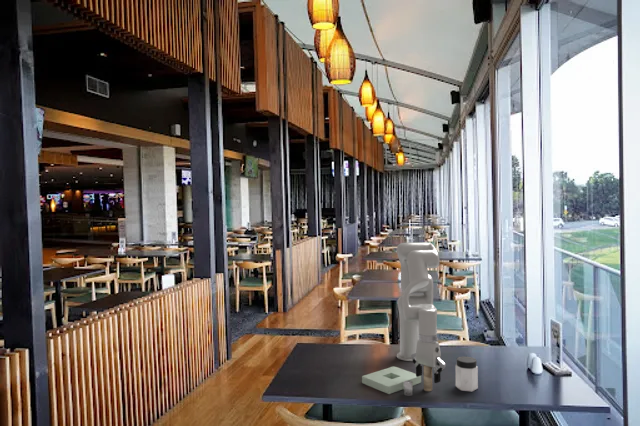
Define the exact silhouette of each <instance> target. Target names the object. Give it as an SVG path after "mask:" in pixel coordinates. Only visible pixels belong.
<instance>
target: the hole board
mask: <svg viewBox="0 0 640 426" xmlns="http://www.w3.org/2000/svg"><path fill="white" fill-rule="evenodd" d="M404 381H412V382H413V386H416V385H418V384H421V383H422V375H421V376H418V377H416V372H415V373H414V372H411V371H409V370H406V369H403V368H400V367H397V366H396V365H395V366H390V367H388V368H384V369H381V370H377V371H375V372H371V373H368V374H364V375H361V383H362V384H364V385H366V386H368V387H370V388H372V389H375V390H378V391H380V392H383V393H385V394H387V395H391V394H394V393H396V392H399V391H401V390H404Z"/></svg>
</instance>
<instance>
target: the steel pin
mask: <svg viewBox="0 0 640 426" xmlns="http://www.w3.org/2000/svg"><path fill="white" fill-rule="evenodd" d="M413 386H414V385H413V382H412V381H404V389H403V395H404V396H407V397H412V396H413V395H414V393H413V392H414V391H413V389H414V387H413Z"/></svg>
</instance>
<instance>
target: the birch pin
mask: <svg viewBox="0 0 640 426" xmlns="http://www.w3.org/2000/svg"><path fill="white" fill-rule="evenodd" d="M423 391H425V392H432V391H433V368H432V367H428V366H425V365H423Z"/></svg>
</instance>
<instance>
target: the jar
mask: <svg viewBox="0 0 640 426" xmlns="http://www.w3.org/2000/svg"><path fill="white" fill-rule="evenodd" d="M477 360H478V359H476V358H475V357H471V356H465V355H463V356H458V357H456V364H455V366H454V368H455V370H454V371H455V387H456V388H457V389H458V390H459V391H463V392H474V391H475V390H478V389H479V381H478V380H479V379H478V378H479V377H478V376H479V373H478V372H479V371H478V370H479V367H478V366H477V363H478V362H477Z"/></svg>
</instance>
